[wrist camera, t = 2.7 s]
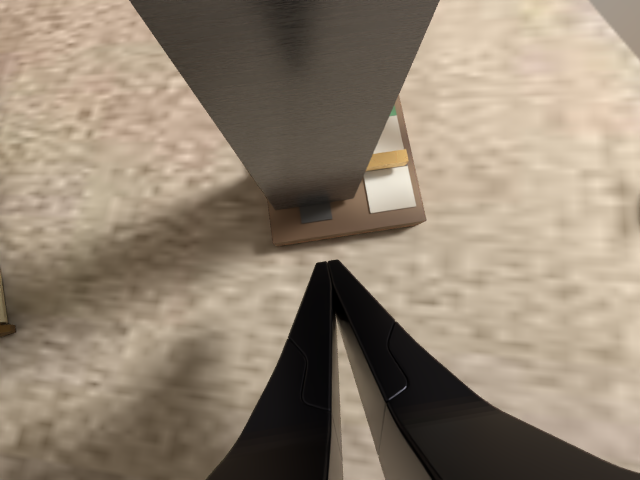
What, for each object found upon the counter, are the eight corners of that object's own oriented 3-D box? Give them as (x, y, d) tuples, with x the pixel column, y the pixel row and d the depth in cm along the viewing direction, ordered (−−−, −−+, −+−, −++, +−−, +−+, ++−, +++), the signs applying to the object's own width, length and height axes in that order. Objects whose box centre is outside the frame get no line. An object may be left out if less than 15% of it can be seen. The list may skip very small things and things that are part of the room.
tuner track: (417, 225, 17) (427, 219, 16) (277, 246, 17) (272, 243, 15) (385, 75, 19) (391, 56, 17) (257, 92, 19) (251, 76, 17)
